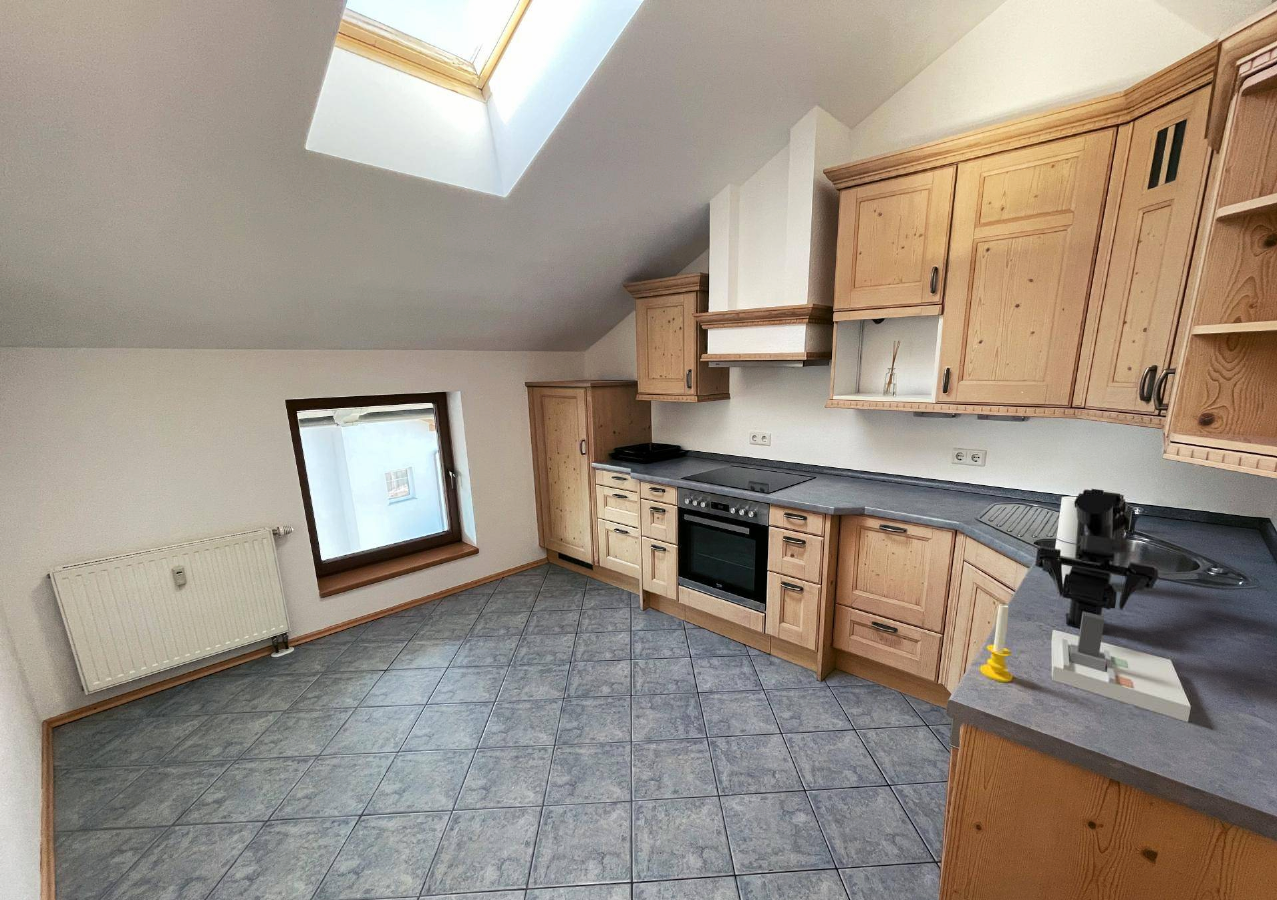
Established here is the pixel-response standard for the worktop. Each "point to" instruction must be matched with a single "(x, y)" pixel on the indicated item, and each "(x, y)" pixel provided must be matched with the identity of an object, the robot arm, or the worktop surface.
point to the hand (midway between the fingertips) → (1090, 602)
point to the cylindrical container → (1067, 531)
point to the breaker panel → (1123, 677)
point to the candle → (998, 650)
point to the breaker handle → (1089, 643)
